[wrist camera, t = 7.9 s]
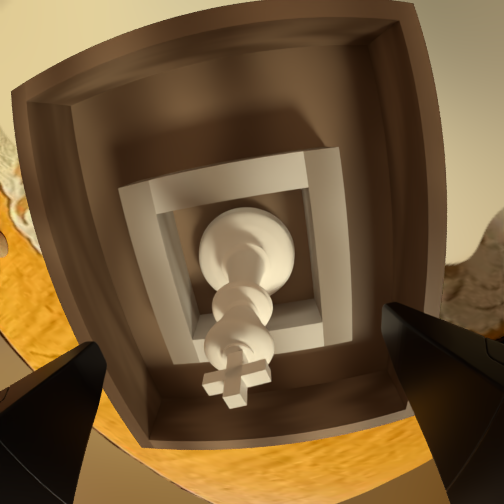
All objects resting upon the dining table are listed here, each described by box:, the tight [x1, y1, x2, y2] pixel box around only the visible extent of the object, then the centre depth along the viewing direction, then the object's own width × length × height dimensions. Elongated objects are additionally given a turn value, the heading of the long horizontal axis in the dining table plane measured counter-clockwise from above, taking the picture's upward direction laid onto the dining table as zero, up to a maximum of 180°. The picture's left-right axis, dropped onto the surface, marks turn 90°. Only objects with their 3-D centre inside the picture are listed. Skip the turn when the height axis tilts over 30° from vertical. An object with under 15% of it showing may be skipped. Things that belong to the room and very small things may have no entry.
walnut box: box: [11, 0, 447, 450], centre depth 15 cm, size 18×22×5 cm
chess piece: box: [199, 207, 295, 409], centre depth 11 cm, size 5×5×10 cm
